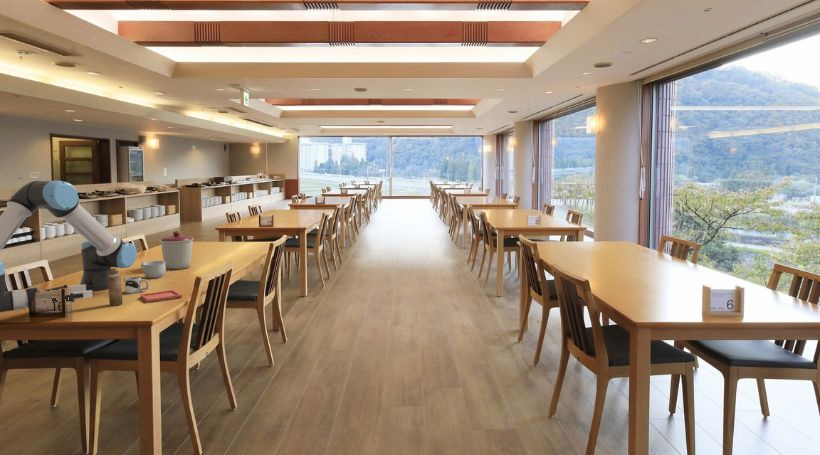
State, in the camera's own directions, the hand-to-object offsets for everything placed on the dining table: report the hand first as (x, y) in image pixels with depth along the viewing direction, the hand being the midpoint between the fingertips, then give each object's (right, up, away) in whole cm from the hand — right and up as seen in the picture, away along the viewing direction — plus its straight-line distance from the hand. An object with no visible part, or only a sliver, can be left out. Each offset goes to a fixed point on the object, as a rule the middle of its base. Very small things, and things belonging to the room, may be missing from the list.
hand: (89, 290), depth 226 cm
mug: (+5, -4, +30) cm, 31 cm away
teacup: (-3, 0, +63) cm, 63 cm away
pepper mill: (+7, -7, +7) cm, 12 cm away
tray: (+21, -5, +18) cm, 29 cm away
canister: (0, +3, +87) cm, 87 cm away
